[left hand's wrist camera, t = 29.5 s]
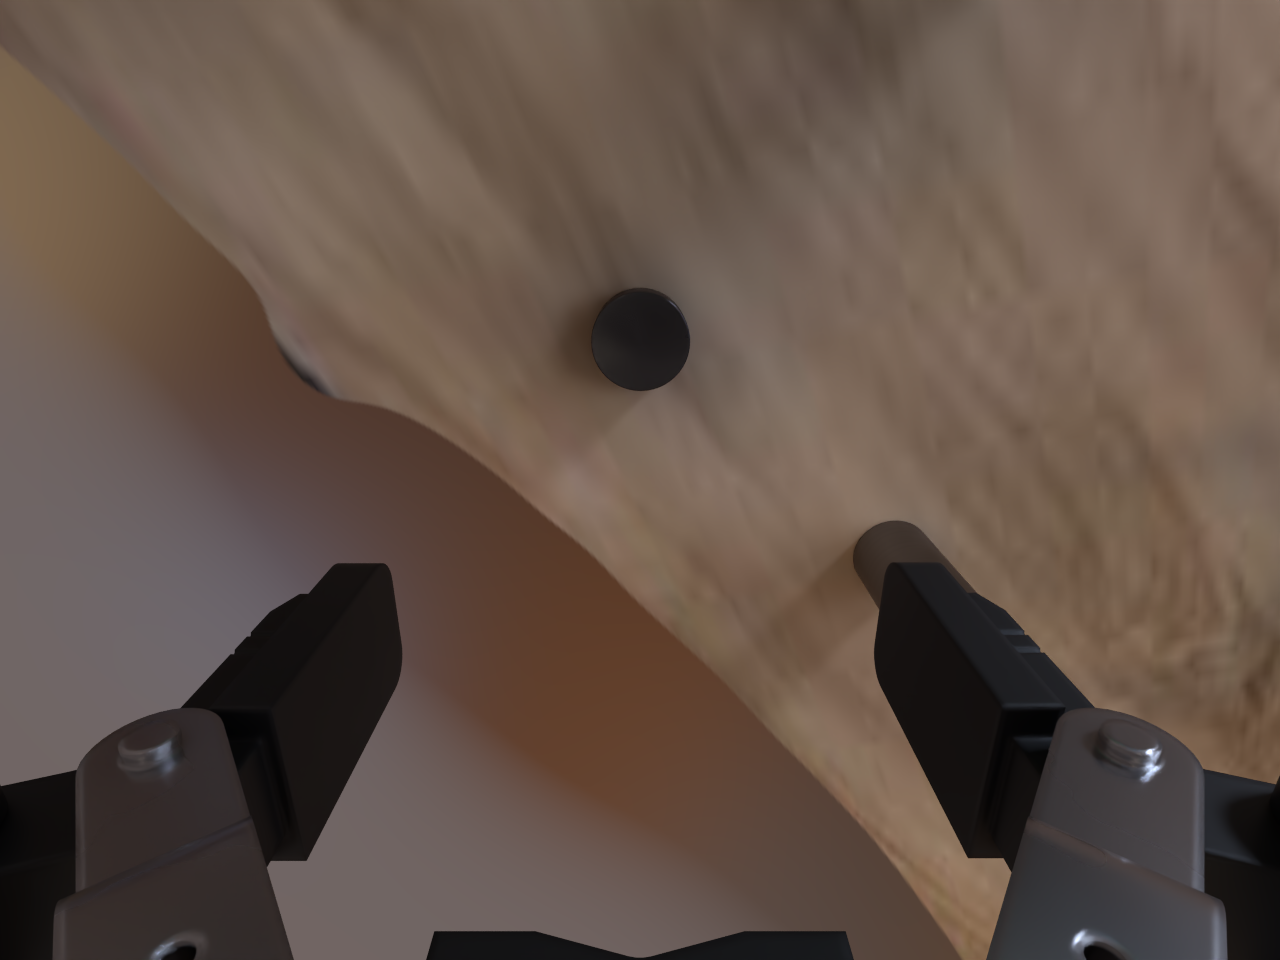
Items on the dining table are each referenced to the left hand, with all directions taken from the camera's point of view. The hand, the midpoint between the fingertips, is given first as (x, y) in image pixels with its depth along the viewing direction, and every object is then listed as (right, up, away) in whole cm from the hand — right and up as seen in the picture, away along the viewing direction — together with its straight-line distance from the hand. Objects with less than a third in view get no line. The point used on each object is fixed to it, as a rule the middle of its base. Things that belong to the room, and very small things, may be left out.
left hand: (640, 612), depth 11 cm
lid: (0, +9, +24) cm, 26 cm away
